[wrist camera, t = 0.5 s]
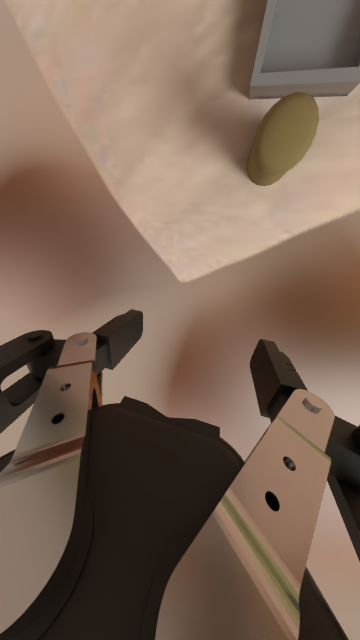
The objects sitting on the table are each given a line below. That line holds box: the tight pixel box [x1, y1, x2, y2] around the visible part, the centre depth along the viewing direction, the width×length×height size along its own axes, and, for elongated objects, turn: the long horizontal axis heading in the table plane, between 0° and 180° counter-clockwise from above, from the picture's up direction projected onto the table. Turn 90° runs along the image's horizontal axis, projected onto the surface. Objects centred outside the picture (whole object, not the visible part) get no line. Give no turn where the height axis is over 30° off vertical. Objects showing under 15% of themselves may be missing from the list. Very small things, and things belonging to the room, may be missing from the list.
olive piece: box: [247, 92, 319, 186], centre depth 18 cm, size 6×6×11 cm
